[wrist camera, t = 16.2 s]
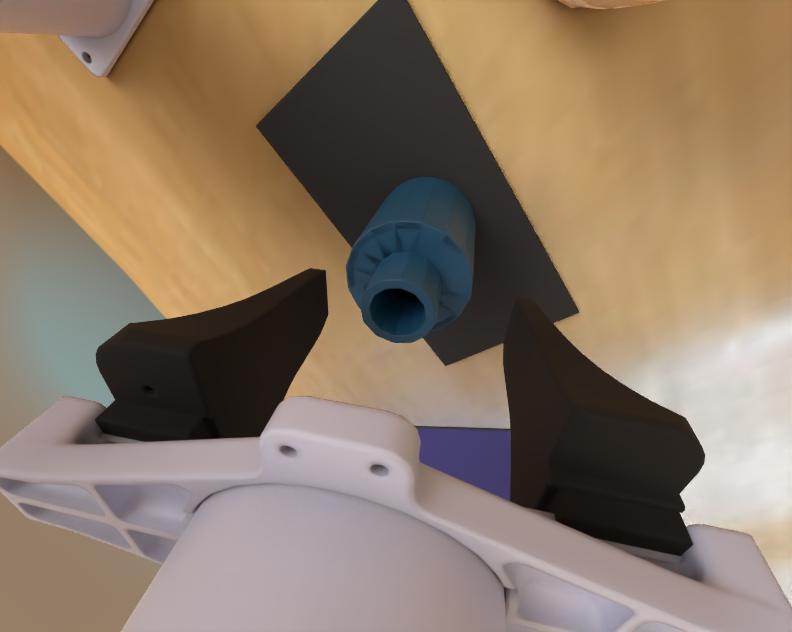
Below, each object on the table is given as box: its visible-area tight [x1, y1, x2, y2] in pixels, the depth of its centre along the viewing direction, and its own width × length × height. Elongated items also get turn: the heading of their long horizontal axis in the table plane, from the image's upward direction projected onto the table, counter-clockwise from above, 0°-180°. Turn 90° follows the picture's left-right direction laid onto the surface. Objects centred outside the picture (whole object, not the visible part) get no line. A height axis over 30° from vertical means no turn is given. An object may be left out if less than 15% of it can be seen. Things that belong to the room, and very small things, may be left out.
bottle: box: [346, 177, 476, 343], centre depth 19 cm, size 6×6×10 cm
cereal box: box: [414, 426, 511, 501], centre depth 25 cm, size 17×5×24 cm, turn 100°
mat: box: [256, 0, 579, 366], centre depth 23 cm, size 20×10×1 cm, turn 36°
